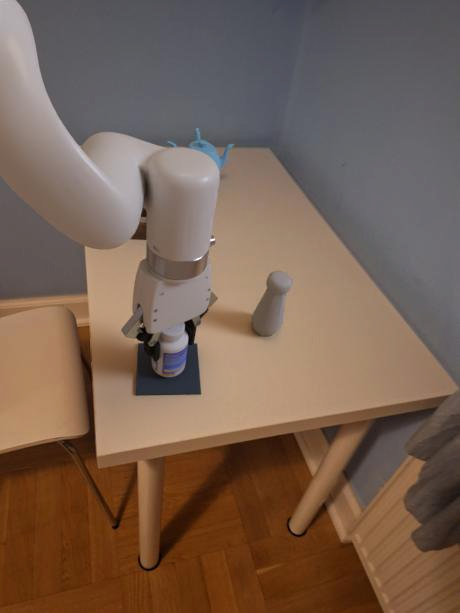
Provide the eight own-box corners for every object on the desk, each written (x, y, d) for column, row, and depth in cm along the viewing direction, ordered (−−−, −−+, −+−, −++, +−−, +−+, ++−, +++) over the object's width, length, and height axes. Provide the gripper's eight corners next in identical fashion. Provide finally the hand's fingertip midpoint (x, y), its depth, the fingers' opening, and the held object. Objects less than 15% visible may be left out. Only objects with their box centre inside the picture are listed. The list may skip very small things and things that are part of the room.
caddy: (125, 238, 88) (124, 223, 85) (127, 213, 94) (127, 198, 92) (169, 241, 90) (170, 226, 87) (169, 216, 96) (170, 201, 94)
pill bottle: (191, 360, 67) (197, 320, 60) (174, 383, 63) (178, 344, 56) (162, 346, 68) (165, 306, 61) (144, 368, 64) (145, 328, 57)
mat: (135, 395, 62) (135, 394, 62) (138, 344, 69) (138, 342, 68) (200, 394, 64) (201, 393, 64) (196, 344, 71) (197, 343, 70)
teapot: (230, 178, 114) (236, 143, 107) (203, 195, 105) (208, 158, 98) (193, 161, 118) (197, 126, 111) (164, 176, 109) (166, 139, 102)
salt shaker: (272, 315, 79) (290, 264, 70) (284, 337, 75) (304, 286, 66) (245, 319, 77) (259, 267, 68) (255, 342, 73) (272, 290, 64)
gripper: (216, 221, 56) (202, 311, 68) (97, 255, 47) (106, 351, 60) (250, 252, 52) (228, 341, 65) (127, 296, 43) (130, 389, 56)
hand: (169, 345), depth 62 cm, fingers closed on pill bottle, 5 cm apart
